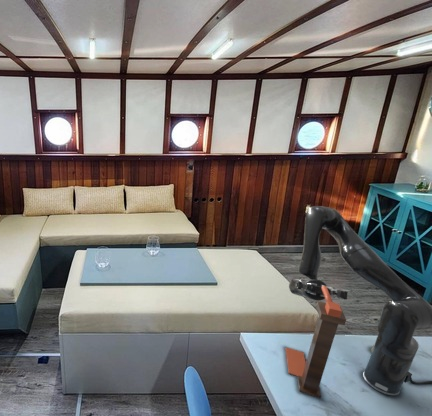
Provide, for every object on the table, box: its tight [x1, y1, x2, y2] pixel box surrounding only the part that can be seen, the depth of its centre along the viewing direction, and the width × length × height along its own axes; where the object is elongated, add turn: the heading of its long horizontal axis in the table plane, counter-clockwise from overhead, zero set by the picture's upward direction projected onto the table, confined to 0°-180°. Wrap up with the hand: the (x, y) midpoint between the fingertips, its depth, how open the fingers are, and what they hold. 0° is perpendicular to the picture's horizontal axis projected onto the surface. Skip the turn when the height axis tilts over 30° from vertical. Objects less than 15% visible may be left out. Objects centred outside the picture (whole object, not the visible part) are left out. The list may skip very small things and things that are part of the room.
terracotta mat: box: [285, 347, 306, 377], centre depth 106 cm, size 13×6×1 cm, turn 154°
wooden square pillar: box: [296, 301, 347, 399], centre depth 92 cm, size 6×6×32 cm
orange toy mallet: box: [321, 286, 343, 318], centre depth 90 cm, size 15×3×2 cm, turn 154°
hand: (326, 290), depth 94 cm, fingers open, 8 cm apart
